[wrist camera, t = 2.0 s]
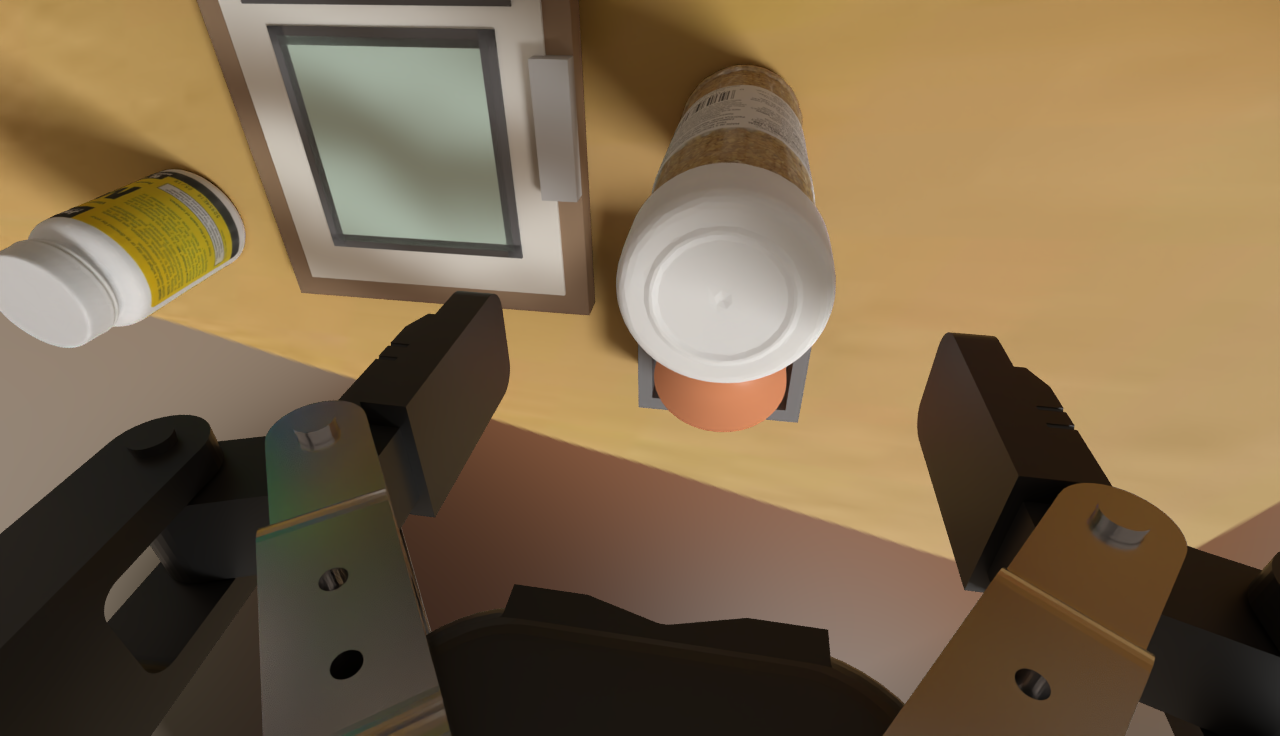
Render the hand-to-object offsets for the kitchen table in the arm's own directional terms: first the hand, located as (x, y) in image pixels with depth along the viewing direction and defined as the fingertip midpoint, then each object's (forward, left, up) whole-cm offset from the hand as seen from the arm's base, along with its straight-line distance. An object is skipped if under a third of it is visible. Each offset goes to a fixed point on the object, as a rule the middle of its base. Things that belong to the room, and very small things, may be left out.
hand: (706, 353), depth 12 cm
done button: (+8, 0, -14) cm, 16 cm away
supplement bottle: (+5, -25, -15) cm, 30 cm away
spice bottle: (0, 0, -15) cm, 15 cm away
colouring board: (0, -13, -15) cm, 20 cm away
